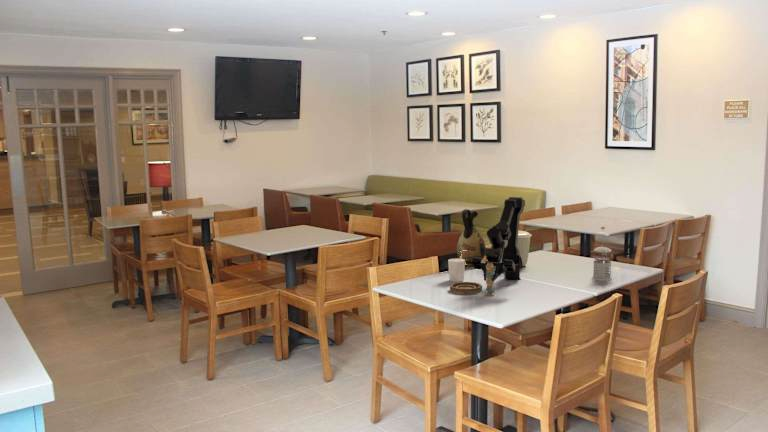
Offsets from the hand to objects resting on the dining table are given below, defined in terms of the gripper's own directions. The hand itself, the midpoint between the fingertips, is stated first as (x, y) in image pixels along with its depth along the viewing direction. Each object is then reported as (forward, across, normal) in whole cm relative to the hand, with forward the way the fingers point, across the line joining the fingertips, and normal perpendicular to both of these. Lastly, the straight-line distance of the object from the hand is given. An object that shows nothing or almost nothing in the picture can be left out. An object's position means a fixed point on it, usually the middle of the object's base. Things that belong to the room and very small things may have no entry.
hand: (488, 280), depth 290 cm
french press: (-32, +39, +42) cm, 65 cm away
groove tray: (+1, -12, +8) cm, 15 cm away
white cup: (-11, -23, +20) cm, 33 cm away
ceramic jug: (-37, -30, +47) cm, 67 cm away
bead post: (+4, 0, +6) cm, 7 cm away
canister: (-41, -8, +51) cm, 66 cm away
